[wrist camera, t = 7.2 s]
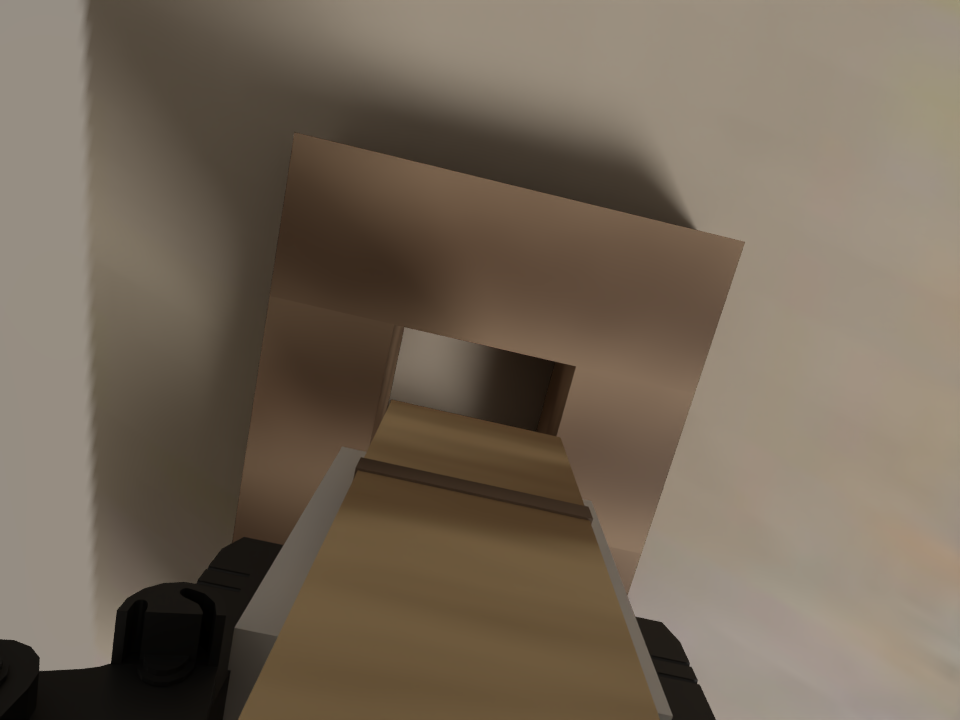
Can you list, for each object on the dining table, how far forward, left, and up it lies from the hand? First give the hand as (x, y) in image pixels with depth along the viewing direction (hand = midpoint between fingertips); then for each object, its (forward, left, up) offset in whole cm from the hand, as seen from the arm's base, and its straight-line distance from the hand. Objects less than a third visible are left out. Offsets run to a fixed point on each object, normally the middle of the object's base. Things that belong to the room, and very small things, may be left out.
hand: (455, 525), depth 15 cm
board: (0, 0, -10) cm, 10 cm away
